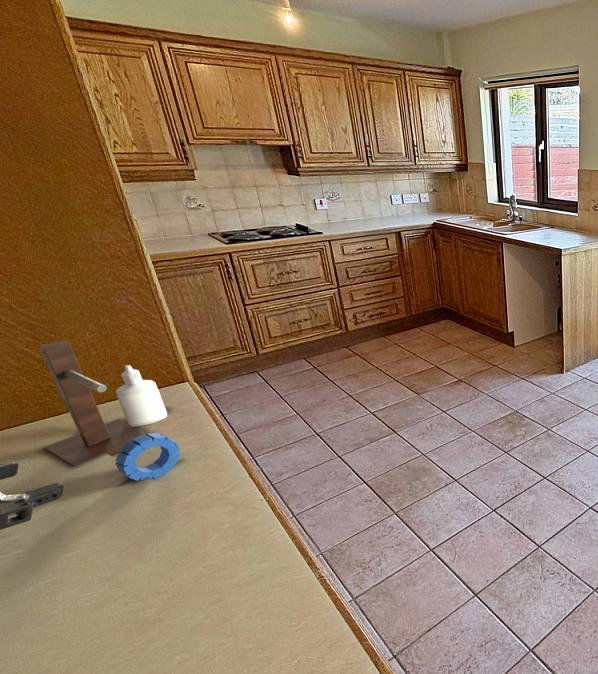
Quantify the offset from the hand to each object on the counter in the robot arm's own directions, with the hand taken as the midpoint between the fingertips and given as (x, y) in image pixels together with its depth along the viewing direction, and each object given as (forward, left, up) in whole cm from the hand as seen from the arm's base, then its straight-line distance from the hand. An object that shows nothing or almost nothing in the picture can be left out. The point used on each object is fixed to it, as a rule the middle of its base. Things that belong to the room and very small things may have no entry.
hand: (38, 478), depth 68 cm
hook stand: (-10, +11, -6) cm, 16 cm away
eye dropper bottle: (-16, +19, -6) cm, 25 cm away
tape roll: (+4, +11, -2) cm, 12 cm away
